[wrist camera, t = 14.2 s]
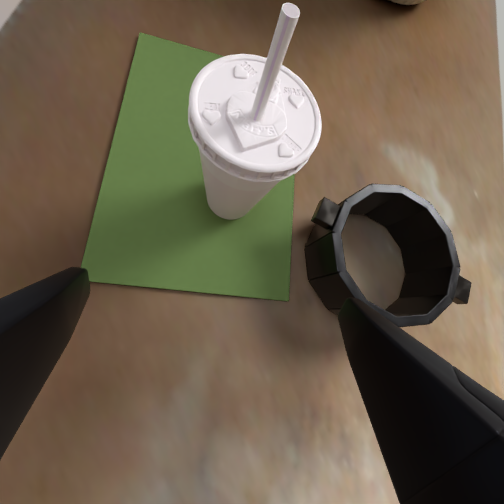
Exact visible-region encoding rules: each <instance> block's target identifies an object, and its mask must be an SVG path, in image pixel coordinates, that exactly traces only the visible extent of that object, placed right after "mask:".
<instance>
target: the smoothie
mask: <svg viewBox="0 0 504 504" xmlns="http://www.w3.org/2000/svg"><path fill="white" fill-rule="evenodd" d="M299 15H300V11H299V9H298V7H297V6H295V5H294V4H292V3H284V4H283V6H282V9H281V12H280V16H279V19H278V22H277V26H276V29H275V33H274V36H273V39H272V43H271V46H270V49H269V53H268V56H267V58H265V57H261V56H257V55H250V54H235V55H229V56H224V57H221V58H219V59H216V60H214V61H212V62H211V63H209V64H208V65H206V66H205V67H204V68H203V69H202V70H201V71H200V72H199V73H198V74H197V76H196V78H195V79H194V81H193V83H192V86H191V89H190V94H189V106H188V124H189V127H190V130H191V134H192V137H193V140H194V141H195V143H196V144H197V146H198V147H199V152H200V158H201V164H202V171H203V177H204V183H205V190H206V196H207V202H208V205H209V207H210V209H211V210H212V211H213V212H214V213H215V214H216V215H217V216H219V217H221V218H224V219H228V220H234V219H239V218H241V217H243V216H244V215H245V214H247V213H248V212H249V211H250V210H251V209H252V208H253V207H254V206H255V205H256V204H257V203H258V202H259V201H260V200H261V199H262V198H263V197H264V196H265V195H266V194H267V193H268V192H269V191H270V190H271V189H272V188H273V187H274V186H275V185H276V184H277V183H278V182H280V181H281V180H283V179H285V178H287V177H289V176H291V175H293V174H295V173H297V172H298V171H299V170H300V169H301V168H302V167H303V166H304V165H305V164H306V163H307V161H308V159H309V157H310V155H311V154H312V153H313V151H314V150H315V148H316V146H317V144H318V142H319V139H320V135H321V115H320V111H319V107H318V105H317V102H316V100H315V98H314V96H313V94H312V93H311V91H310V90H309V88H308V87H307V86H306V84H305V83H304V82H303V81H302V80H301V79H300V78H299V77H298V76H297V75H296V74H294V73H293V72H292V71H291V70H290V69H288V68H286V67H285V66H283V65H282V62H283V59H284V57H285V54H286V51H287V48H288V46H289V43H290V40H291V37H292V35H293V32H294V29H295V26H296V24H297V21H298V18H299Z"/></svg>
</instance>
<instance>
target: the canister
mask: <svg viewBox="0 0 504 504" xmlns="http://www.w3.org/2000/svg"><path fill="white" fill-rule="evenodd" d="M389 1H392V2H394V3H399V4H405V5H415V4H418V3H421V2H424V1H425V0H389Z"/></svg>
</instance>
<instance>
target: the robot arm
mask: <svg viewBox="0 0 504 504" xmlns="http://www.w3.org/2000/svg"><path fill="white" fill-rule="evenodd" d="M89 294H90V283H89V275H88V271H87V269H85V268H79V267H70V268H68V269H65V270H63V271H61V272H59V273H56V274H54V275H52V276H50V277H47V278H45V279H43V280H41V281H39V282H36V283H34V284H32V285H30V286H27V287H25V288H23V289H21V290H18V291H16V292H14V293H12V294H9V295H7V296H5V297H3V298H1V299H0V459H1V458H2V456H3V454H4V453H5V451H6V449H7V447H8V446H9V444H10V442H11V441H12V439H13V437H14V435H15V434H16V432H17V430H18V428H19V427H20V425H21V423H22V422H23V420H24V418H25V416H26V415H27V413H28V411H29V410H30V408H31V406H32V404H33V403H34V401H35V399H36V397H37V396H38V394H39V392H40V391H41V389H42V387H43V385H44V384H45V382H46V380H47V379H48V377H49V375H50V373H51V372H52V370H53V368H54V366H55V365H56V363H57V361H58V360H59V358H60V356H61V354H62V353H63V351H64V349H65V348H66V346H67V344H68V342H69V340H70V338H71V336H72V334H73V332H74V329H75V327H76V325H77V323H78V320H79V318H80V316H81V313H82V311H83V309H84V306H85V304H86V302H87V299H88V297H89ZM338 320H339V324H340V328H341V332H342V336H343V340H344V344H345V349H346V352H347V356H348V359H349V362H350V365H351V368H352V371H353V373H354V376H355V379H356V382H357V385H358V387H359V390H360V393H361V396H362V399H363V402H364V404H365V407H366V410H367V413H368V416H369V418H370V421H371V424H372V427H373V430H374V432H375V435H376V438H377V441H378V444H379V447H380V449H381V452H382V455H383V458H384V461H385V463H386V466H387V469H388V472H389V475H390V478H391V480H392V483H393V486H394V489H395V492H396V494H397V497H398V500H399V503H400V504H504V400H502V399H501V398H499V397H498V396H496V395H495V394H493V393H492V392H490V391H489V390H487V389H486V388H484V387H483V386H481V385H480V384H478V383H477V382H476V381H474V380H473V379H471V378H470V377H468V376H467V375H465V374H464V373H463V372H461V371H460V370H458V369H457V368H456V367H454V366H452V365H451V364H450V363H449V362H447V361H446V360H444V359H443V358H441V357H440V356H439V355H437V354H436V353H434V352H433V351H432V350H430V349H429V348H427V347H426V346H425V345H423V344H422V343H420V342H419V341H418V340H416V339H415V338H413V337H412V336H411V335H409V334H408V333H406V332H405V331H404V330H402V329H401V328H399V327H398V326H396V325H395V324H394V323H392V322H391V321H389V320H388V319H387V318H385V317H384V316H382V315H381V314H380V313H378V312H377V311H375V310H374V309H373V308H371V307H370V306H368V305H367V304H366V303H364V302H363V301H361V300H360V299H358V298H347V299H346V300H345V302H344V304H343V306H342V308H341V310H340V312H339V314H338Z"/></svg>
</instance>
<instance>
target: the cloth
mask: <svg viewBox="0 0 504 504" xmlns="http://www.w3.org/2000/svg"><path fill="white" fill-rule="evenodd" d="M221 57H224V56H221V55H218V54H214V53H211V52H207V51H204V50H200V49H197V48H193V47H190V46H186V45H183V44H179V43H175V42H172V41H168V40H165V39H161V38H158V37H154V36H151V35H147V34H144V33H140V34H139V38H138V42H137V46H136V50H135V54H134V58H133V62H132V66H131V70H130V74H129V78H128V81H127V85H126V89H125V93H124V97H123V101H122V105H121V109H120V113H119V117H118V121H117V125H116V129H115V133H114V137H113V141H112V145H111V149H110V153H109V157H108V161H107V165H106V169H105V173H104V177H103V181H102V185H101V189H100V193H99V197H98V201H97V205H96V209H95V213H94V217H93V221H92V225H91V229H90V233H89V237H88V241H87V245H86V248H85V252H84V256H83V260H82V264H81V268H85V269H87V271H88V275H89V282H98V283H108V284H118V285H128V286H138V287H148V288H159V289H169V290H179V291H189V292H199V293H209V294H219V295H229V296H239V297H249V298H259V299H269V300H279V301H289V287H290V265H291V242H292V220H293V198H294V176H295V174H293V175H291V176H289V177H287V178H285V179H283V180H281V181H280V182H278V183H277V184H276V185H275V186H274V187H273V188H272V189H271V190H270V191H269V192H268V193H267V194H266V195H265V196H264V197H263V198H262V199H261V200H260V201H259V202H258V203H257V204H256V205H255V206H254V207H253V208H252V209H251V210H250V211H249V212H248V213H247V214H245V215H244V216H243V217H241V218H239V219H234V220H228V219H224V218H221V217H219V216H217V215H216V214H215V213H214V212H213V211H212V210H211V209H210V207H209V205H208V202H207V196H206V190H205V183H204V177H203V171H202V164H201V158H200V152H199V147H198V146H197V144H196V143H195V141H194V140H193V137H192V134H191V130H190V127H189V124H188V106H189V94H190V89H191V86H192V83H193V81H194V79H195V78H196V76H197V74H198V73H199V72H200V71H201V70H202V69H203V68H204V67H205V66H206V65H208V64H209V63H211V62H212V61H214V60H216V59H219V58H221Z"/></svg>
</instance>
